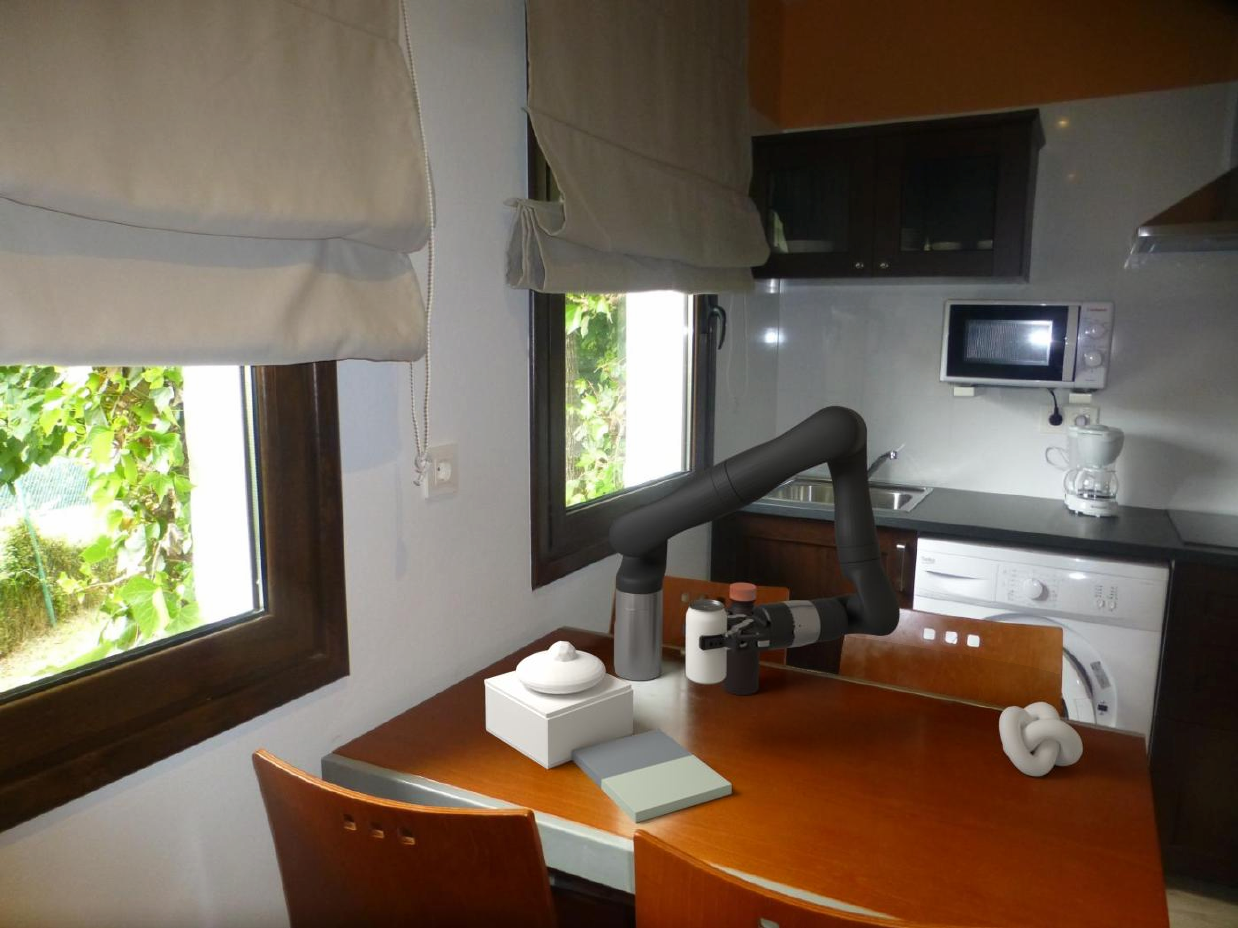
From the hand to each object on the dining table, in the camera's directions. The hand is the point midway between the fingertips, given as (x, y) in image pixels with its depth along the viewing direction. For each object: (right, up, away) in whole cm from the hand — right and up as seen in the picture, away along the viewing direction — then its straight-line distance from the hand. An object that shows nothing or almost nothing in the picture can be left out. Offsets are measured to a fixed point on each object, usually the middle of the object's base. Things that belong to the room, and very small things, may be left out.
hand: (691, 636), depth 134 cm
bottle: (+11, -15, +26) cm, 32 cm away
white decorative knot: (+52, -20, -2) cm, 56 cm away
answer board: (-7, -20, -6) cm, 22 cm away
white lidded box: (-22, -18, +8) cm, 29 cm away
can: (+2, -7, +2) cm, 8 cm away
